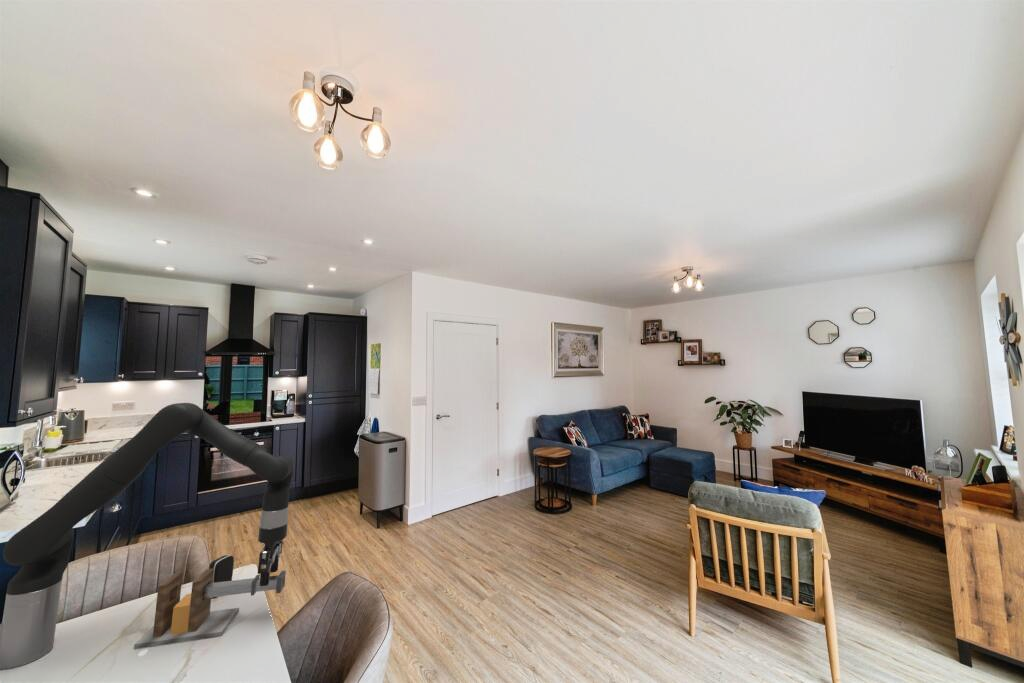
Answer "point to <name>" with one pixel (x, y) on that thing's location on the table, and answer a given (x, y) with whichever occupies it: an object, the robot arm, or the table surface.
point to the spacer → (181, 615)
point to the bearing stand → (200, 615)
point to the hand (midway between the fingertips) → (268, 578)
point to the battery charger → (222, 569)
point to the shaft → (244, 586)
